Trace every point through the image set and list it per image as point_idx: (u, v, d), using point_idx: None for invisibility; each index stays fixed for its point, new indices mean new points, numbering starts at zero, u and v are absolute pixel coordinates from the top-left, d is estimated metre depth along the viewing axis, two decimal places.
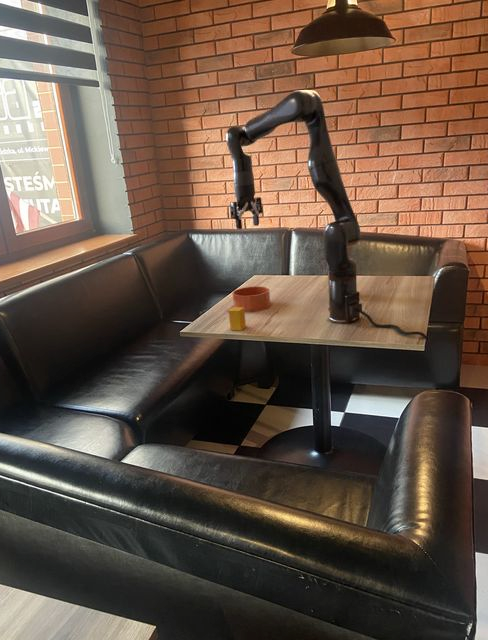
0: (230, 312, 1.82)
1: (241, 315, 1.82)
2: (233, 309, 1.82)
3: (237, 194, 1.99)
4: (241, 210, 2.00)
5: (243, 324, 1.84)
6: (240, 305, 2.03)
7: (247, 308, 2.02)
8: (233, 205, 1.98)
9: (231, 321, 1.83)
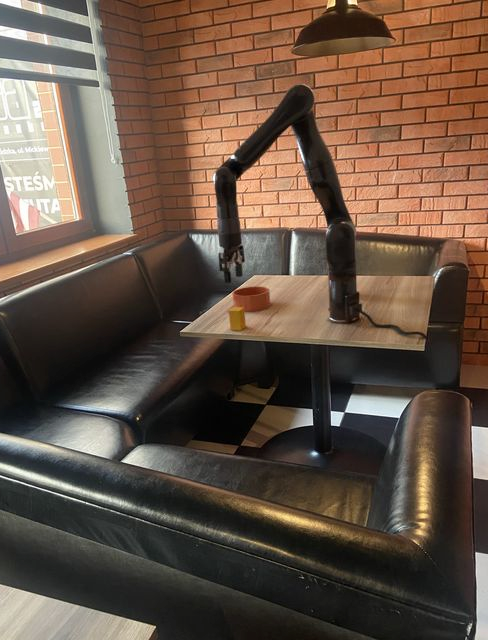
0: (230, 312, 1.82)
1: (241, 315, 1.82)
2: (233, 309, 1.82)
3: (225, 244, 1.73)
4: (230, 261, 1.74)
5: (243, 324, 1.84)
6: (240, 305, 2.03)
7: (247, 308, 2.02)
8: (223, 256, 1.71)
9: (231, 321, 1.83)
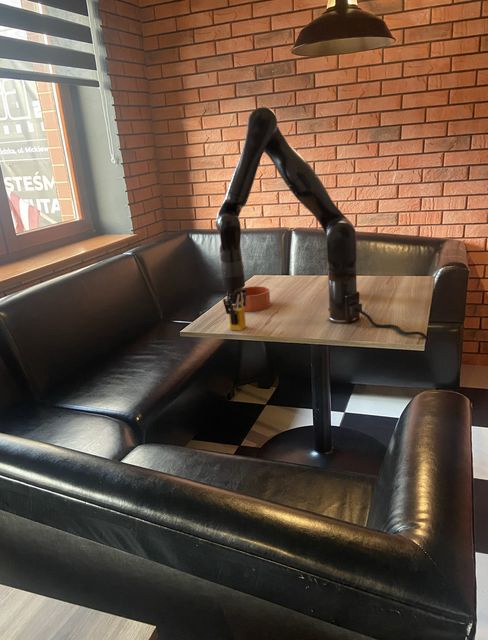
0: None
1: (241, 315, 1.82)
2: None
3: (228, 286, 1.76)
4: (235, 304, 1.79)
5: (243, 324, 1.84)
6: None
7: (247, 308, 2.02)
8: (228, 303, 1.75)
9: None
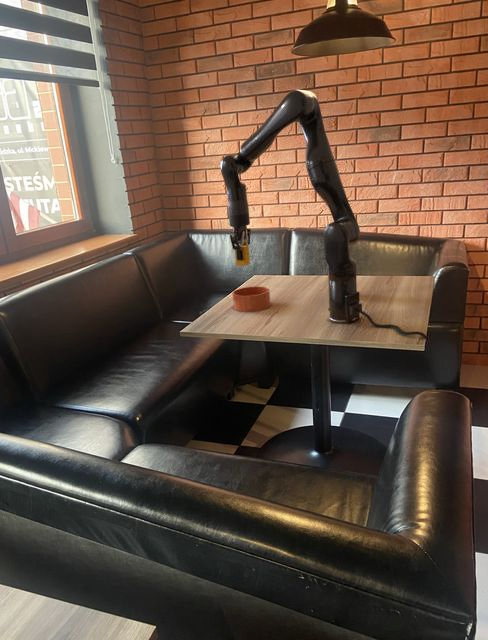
0: None
1: (246, 251, 1.99)
2: None
3: (235, 223, 1.93)
4: (241, 241, 1.96)
5: (248, 260, 2.01)
6: (240, 305, 2.03)
7: (247, 308, 2.02)
8: (234, 238, 1.92)
9: None
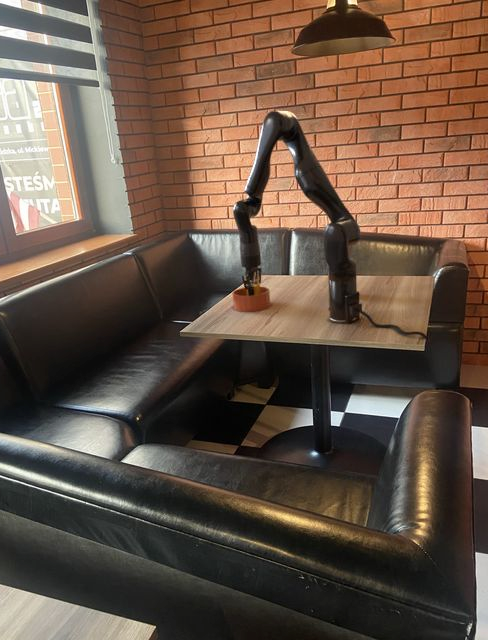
0: None
1: (257, 290, 2.06)
2: None
3: (246, 264, 2.00)
4: (252, 281, 2.03)
5: None
6: (240, 305, 2.03)
7: (247, 308, 2.02)
8: (246, 279, 2.00)
9: None
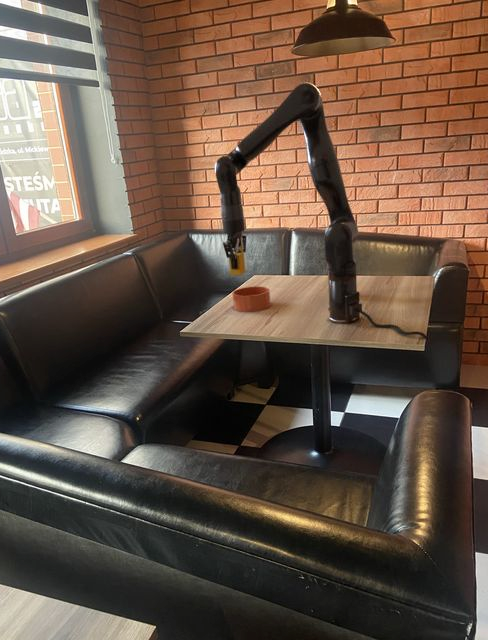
0: None
1: (240, 259, 1.85)
2: None
3: (228, 230, 1.80)
4: (235, 248, 1.82)
5: (243, 269, 1.87)
6: (240, 305, 2.03)
7: (247, 308, 2.02)
8: (228, 245, 1.79)
9: None
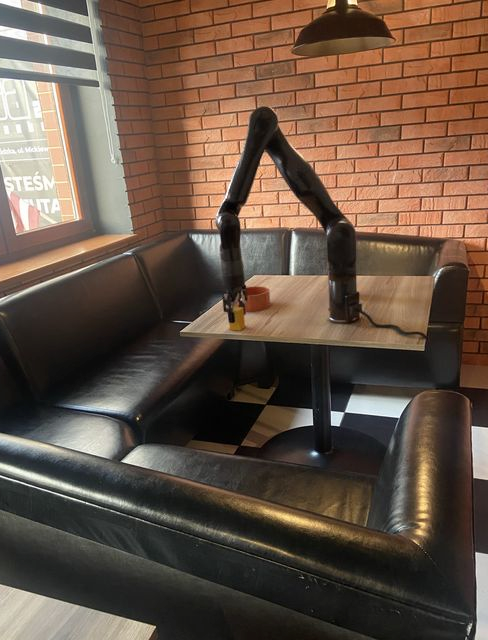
0: None
1: (240, 315, 1.82)
2: None
3: (228, 285, 1.76)
4: (234, 302, 1.78)
5: (242, 324, 1.84)
6: None
7: (247, 308, 2.02)
8: (227, 298, 1.74)
9: None
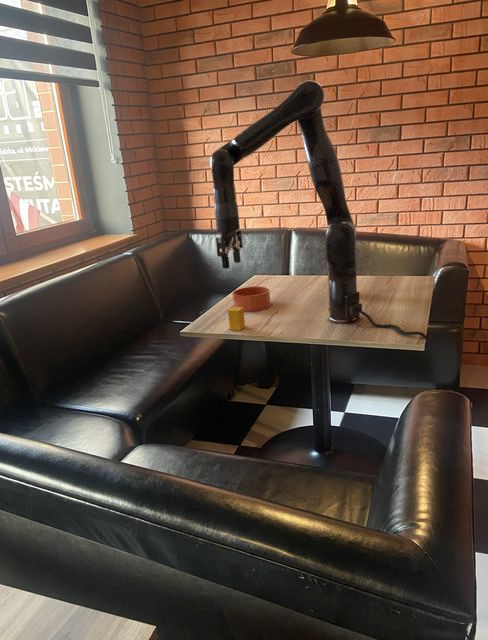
0: (230, 312, 1.82)
1: (240, 315, 1.82)
2: (232, 309, 1.82)
3: (222, 228, 1.70)
4: (228, 246, 1.71)
5: (242, 324, 1.84)
6: (240, 305, 2.03)
7: (247, 308, 2.02)
8: (221, 241, 1.68)
9: (230, 321, 1.83)
